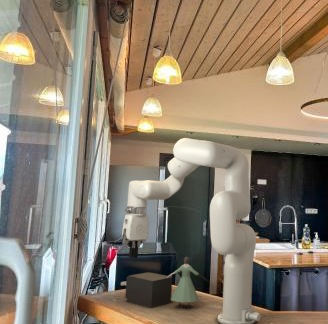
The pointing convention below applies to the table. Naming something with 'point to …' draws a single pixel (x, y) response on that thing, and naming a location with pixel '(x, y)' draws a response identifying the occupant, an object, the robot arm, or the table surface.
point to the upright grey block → (149, 289)
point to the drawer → (126, 286)
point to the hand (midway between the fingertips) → (133, 257)
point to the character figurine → (185, 285)
